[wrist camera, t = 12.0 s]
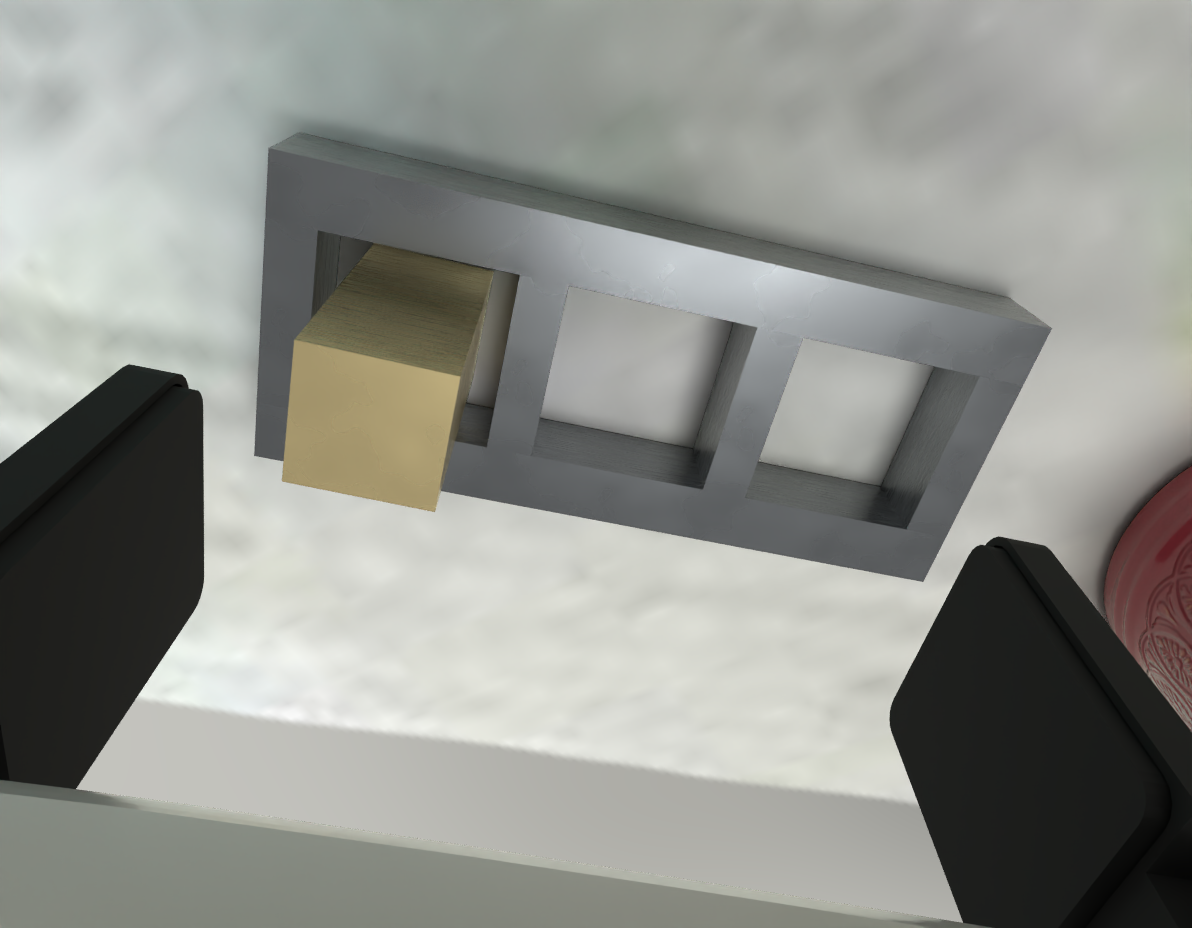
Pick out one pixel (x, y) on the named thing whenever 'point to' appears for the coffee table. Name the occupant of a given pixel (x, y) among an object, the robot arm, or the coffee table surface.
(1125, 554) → the canister
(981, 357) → the grey flat slotted block
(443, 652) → the coffee table surface
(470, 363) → the brass peg
